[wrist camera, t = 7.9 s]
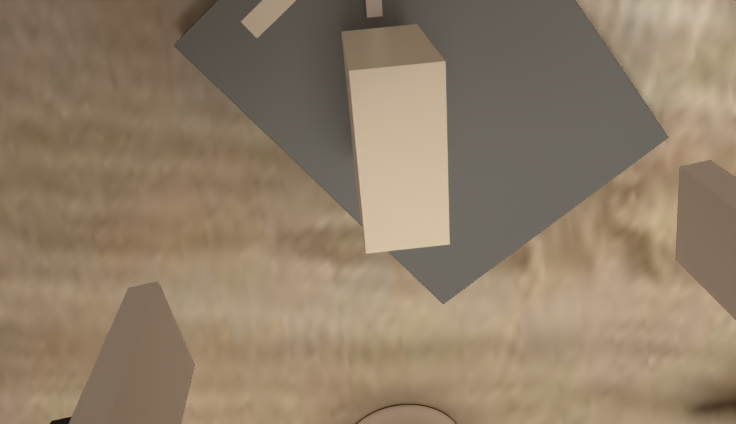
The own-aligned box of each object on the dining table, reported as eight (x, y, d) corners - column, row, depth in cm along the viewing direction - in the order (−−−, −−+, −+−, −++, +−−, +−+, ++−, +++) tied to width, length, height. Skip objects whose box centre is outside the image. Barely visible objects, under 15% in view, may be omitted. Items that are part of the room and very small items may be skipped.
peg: (353, 162, 32) (366, 253, 24) (325, -116, 26) (330, -119, 18) (415, 155, 32) (449, 244, 24) (402, -123, 26) (441, -130, 18)
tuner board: (175, 30, 30) (166, 39, 28) (415, -215, 26) (423, -224, 24) (437, 285, 38) (443, 304, 36) (650, 124, 34) (669, 137, 32)
